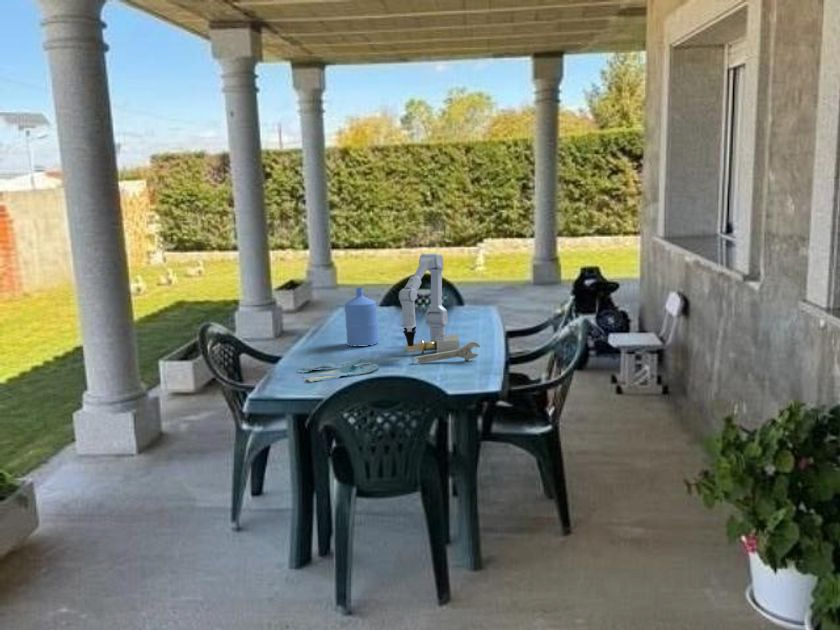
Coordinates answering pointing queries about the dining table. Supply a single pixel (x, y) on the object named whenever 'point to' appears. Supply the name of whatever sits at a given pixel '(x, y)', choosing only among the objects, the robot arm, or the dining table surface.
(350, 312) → the water jug
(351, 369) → the rubber gloves
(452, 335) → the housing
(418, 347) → the gold trophy
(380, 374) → the dining table surface
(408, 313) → the robot arm
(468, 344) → the wrench
